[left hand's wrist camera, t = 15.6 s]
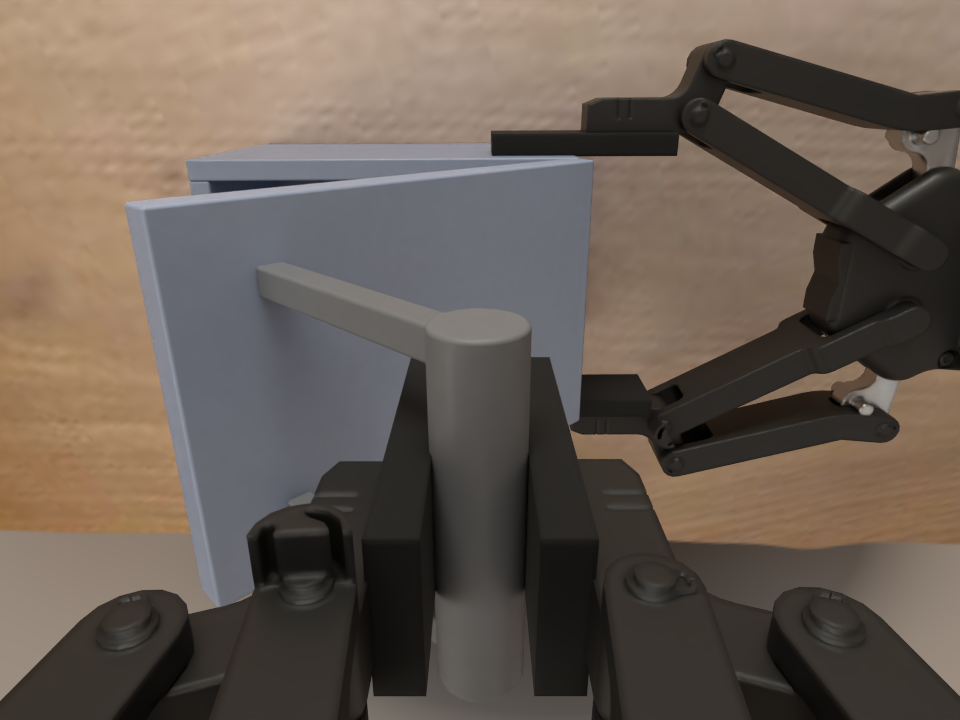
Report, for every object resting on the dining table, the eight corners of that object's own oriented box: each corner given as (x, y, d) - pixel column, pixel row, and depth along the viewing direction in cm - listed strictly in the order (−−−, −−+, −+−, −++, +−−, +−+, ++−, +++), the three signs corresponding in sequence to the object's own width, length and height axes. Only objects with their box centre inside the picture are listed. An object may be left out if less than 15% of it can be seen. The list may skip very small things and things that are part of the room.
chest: (287, 337, 34) (226, 412, 26) (263, 144, 30) (184, 159, 22) (546, 336, 34) (567, 410, 26) (553, 142, 30) (580, 157, 22)
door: (201, 590, 16) (412, 839, 11) (122, 202, 13) (375, 274, 7) (559, 412, 25) (771, 497, 20) (570, 157, 22) (832, 175, 16)
